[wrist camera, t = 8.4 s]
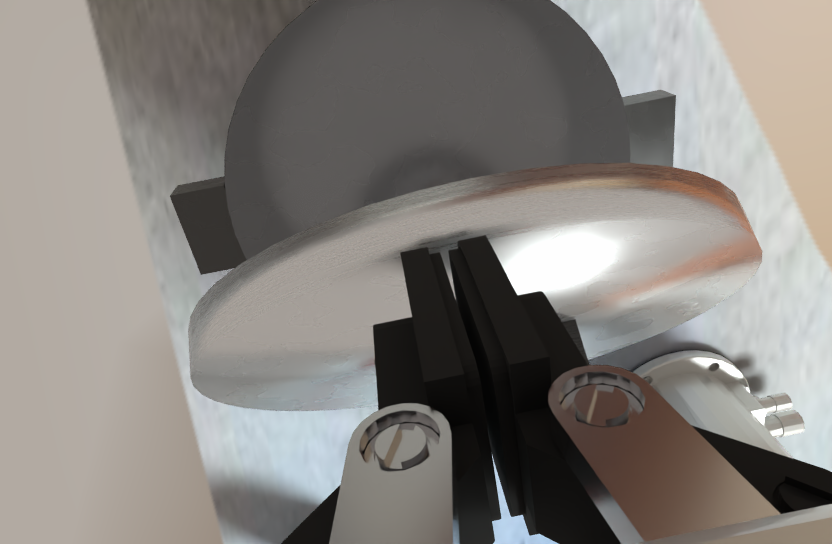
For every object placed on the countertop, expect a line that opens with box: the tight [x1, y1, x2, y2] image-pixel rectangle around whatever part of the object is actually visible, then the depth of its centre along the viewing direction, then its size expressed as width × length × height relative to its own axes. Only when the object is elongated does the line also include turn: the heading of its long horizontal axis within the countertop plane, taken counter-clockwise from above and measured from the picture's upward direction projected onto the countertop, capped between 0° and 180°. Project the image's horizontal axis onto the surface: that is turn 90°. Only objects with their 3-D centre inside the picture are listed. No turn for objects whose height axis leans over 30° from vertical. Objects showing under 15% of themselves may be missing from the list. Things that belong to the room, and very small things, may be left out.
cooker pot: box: [170, 0, 676, 275], centre depth 31 cm, size 23×18×12 cm
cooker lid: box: [188, 163, 762, 411], centre depth 21 cm, size 19×19×4 cm
